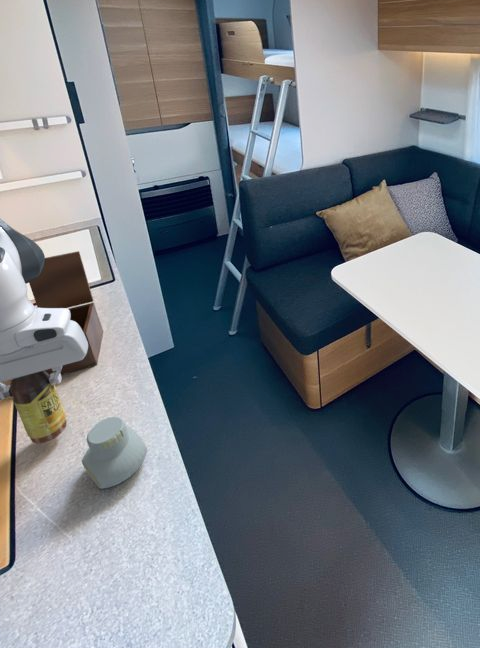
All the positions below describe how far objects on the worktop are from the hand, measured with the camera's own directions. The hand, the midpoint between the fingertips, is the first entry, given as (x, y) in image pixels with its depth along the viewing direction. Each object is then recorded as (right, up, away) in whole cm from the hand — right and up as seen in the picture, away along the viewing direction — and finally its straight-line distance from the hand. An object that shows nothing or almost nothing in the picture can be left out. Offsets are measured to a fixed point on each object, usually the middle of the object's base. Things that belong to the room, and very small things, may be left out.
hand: (33, 389), depth 79 cm
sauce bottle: (0, -11, +4) cm, 11 cm away
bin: (-12, -4, +27) cm, 29 cm away
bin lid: (-15, +15, +26) cm, 34 cm away
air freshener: (+17, -15, -1) cm, 23 cm away
